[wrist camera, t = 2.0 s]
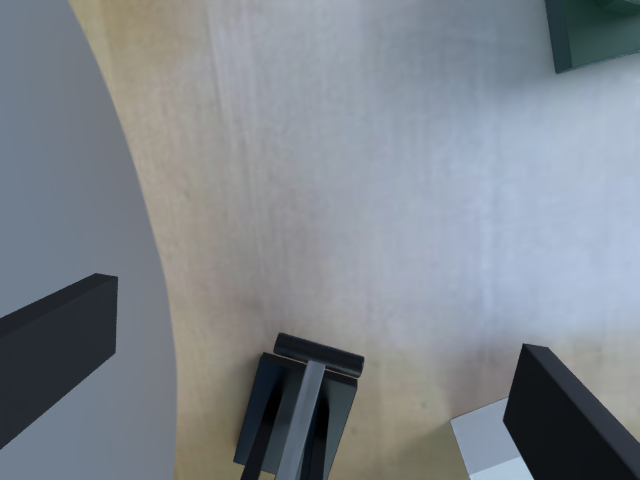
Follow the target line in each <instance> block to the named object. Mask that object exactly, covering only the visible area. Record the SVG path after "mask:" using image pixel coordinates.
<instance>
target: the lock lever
mask: <svg viewBox="0 0 640 480" xmlns="http://www.w3.org/2000/svg"><path fill="white" fill-rule="evenodd" d="M273 353H275V354H278V355H281V356H285V357H288V358H292V359H295V360H298V361H302V362H305V363H307V365H306V369H305V372H304V376H303V379H302V383H301V387H300V390H299V394H298V397H297V401H296V404H295V408H294V411H293V415H292V419H291V422H290V426H289V429H288V433H287V436H286V440H285V444H284V447H283V451H282V454H281V458H280V461H279V465H278V469H277V472H276V476H275V479H274V480H295V477H296V473H297V469H298V466H299V462H300V458H301V455H302V451H303V447H304V444H305V440H306V436H307V433H308V429H309V425H310V422H311V418H312V414H313V410H314V407H315V403H316V399H317V396H318V392H319V388H320V385H321V381H322V377H323V374H324V370H325V368H326V369H329V370H332V371H336V372H339V373H343V374H346V375H350V376H353V377H356V378H359V377H360V375H361V373H362V370H363V366H364V357H363V356H360V355H356V354H353V353H350V352H346V351H343V350H339V349H336V348H332V347H329V346H326V345H322V344H319V343H315V342H312V341H309V340H305V339H302V338H298V337H295V336H291V335H288V334H285V333H281V332H280V333H279V334H278V337H277V340H276V343H275V346H274V350H273Z"/></svg>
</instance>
